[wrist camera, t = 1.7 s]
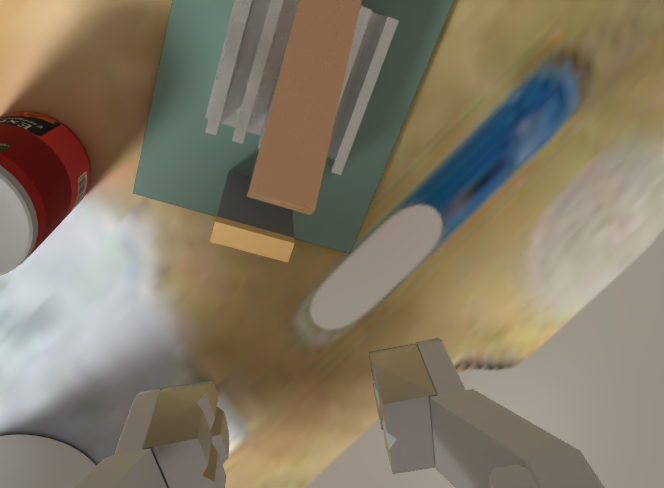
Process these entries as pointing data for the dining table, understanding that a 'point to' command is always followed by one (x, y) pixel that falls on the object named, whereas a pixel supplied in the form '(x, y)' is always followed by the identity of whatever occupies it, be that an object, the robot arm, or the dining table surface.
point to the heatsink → (265, 63)
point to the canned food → (36, 182)
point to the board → (239, 159)
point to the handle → (305, 105)
